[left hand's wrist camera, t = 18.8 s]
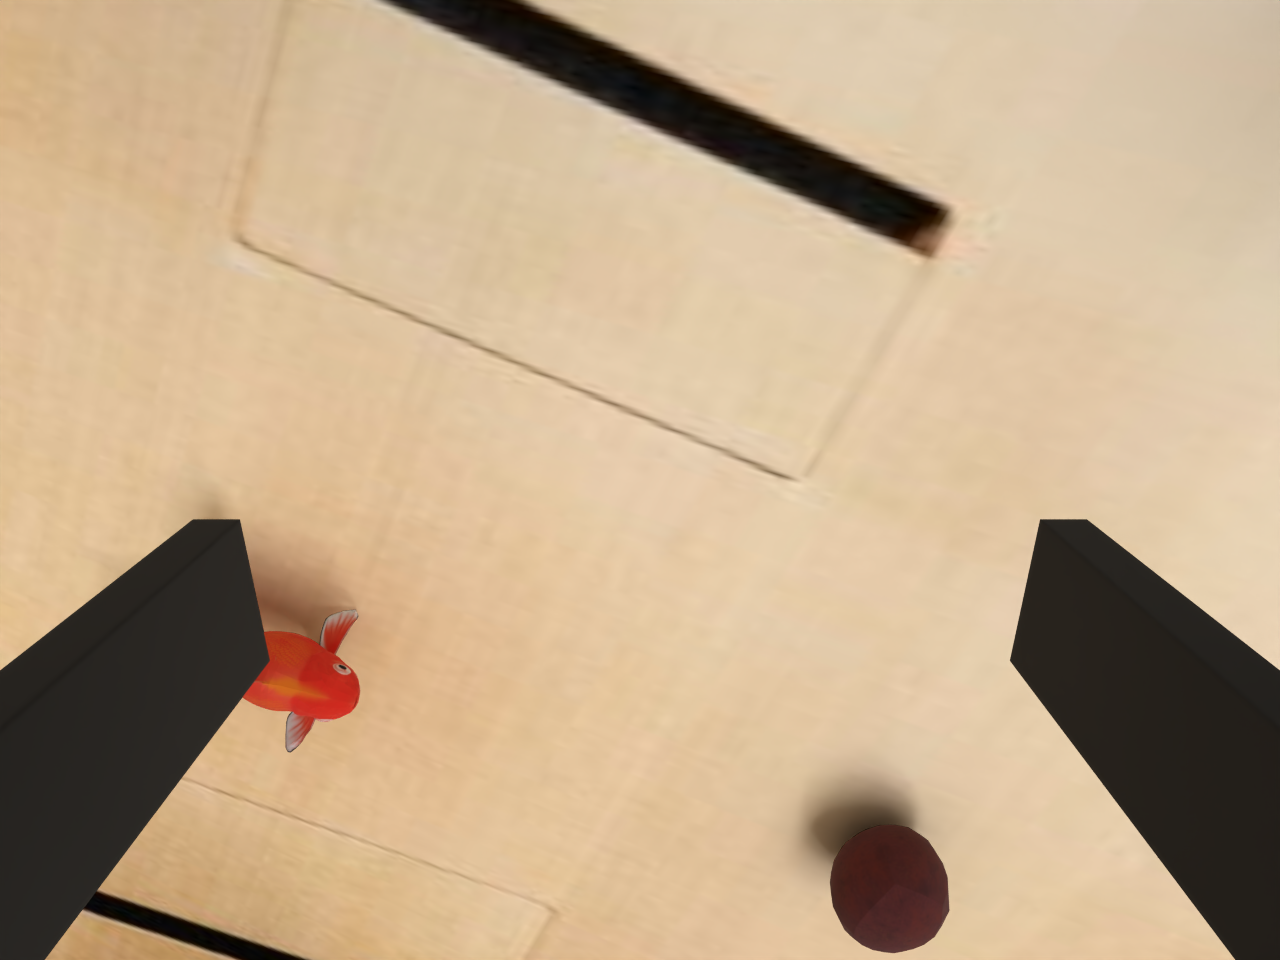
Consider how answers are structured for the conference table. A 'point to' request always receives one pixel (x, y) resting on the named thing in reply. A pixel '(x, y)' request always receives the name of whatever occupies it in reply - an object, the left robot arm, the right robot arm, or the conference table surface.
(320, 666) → the fish
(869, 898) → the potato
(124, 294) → the conference table surface
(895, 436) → the conference table surface
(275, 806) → the conference table surface
